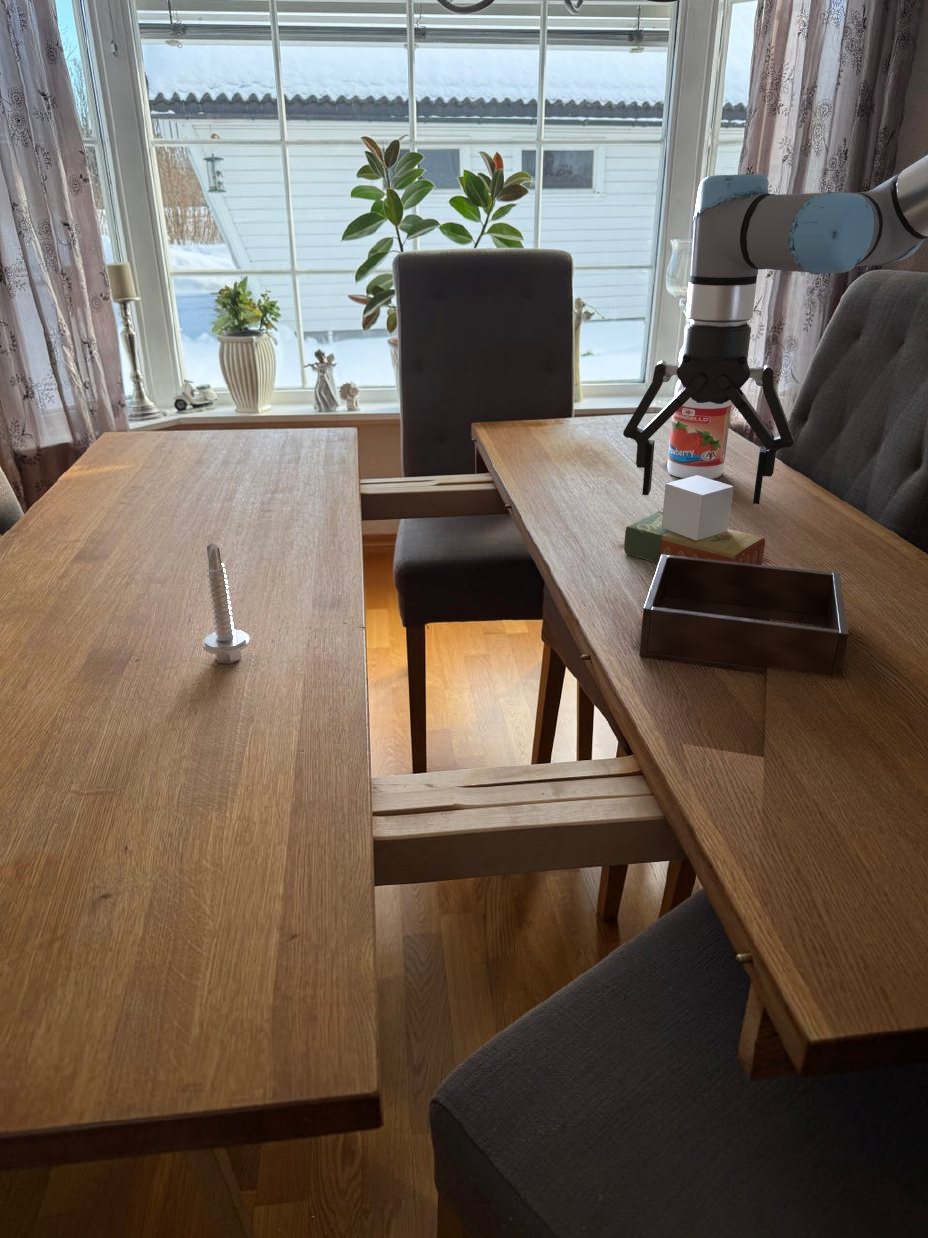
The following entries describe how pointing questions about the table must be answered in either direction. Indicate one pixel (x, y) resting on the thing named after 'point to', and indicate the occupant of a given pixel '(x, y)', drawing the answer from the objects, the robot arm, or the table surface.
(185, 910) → the table surface
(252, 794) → the table surface
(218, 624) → the screw
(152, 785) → the table surface
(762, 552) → the carton
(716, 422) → the fruit juice
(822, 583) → the box
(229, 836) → the table surface
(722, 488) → the white cube
